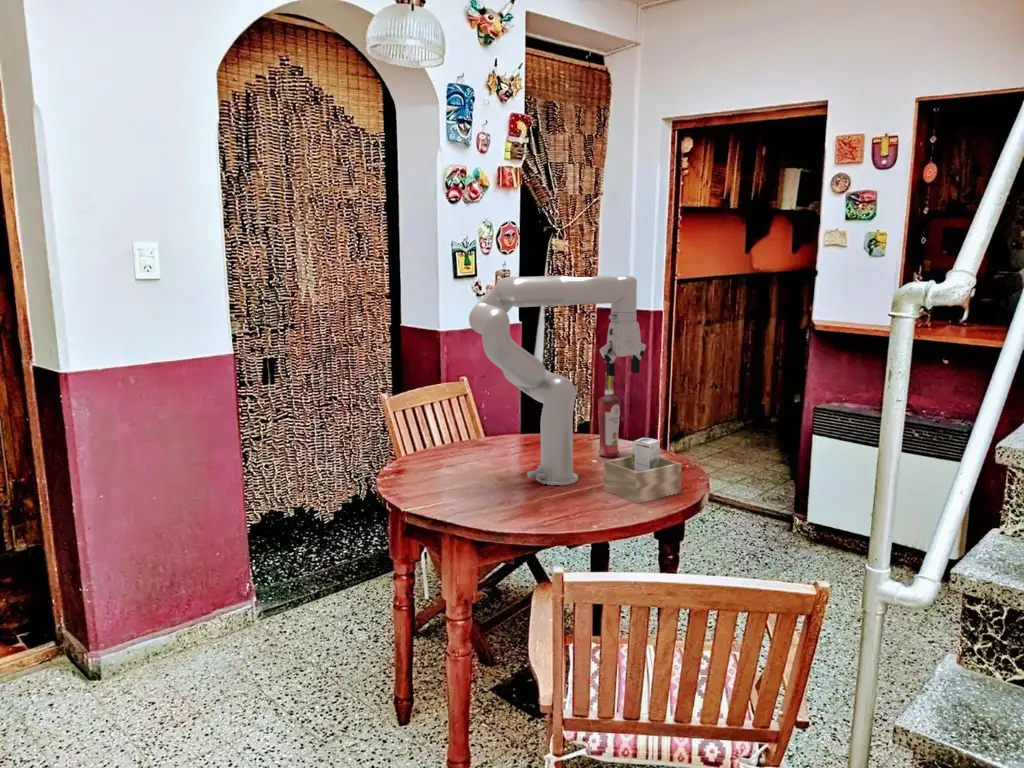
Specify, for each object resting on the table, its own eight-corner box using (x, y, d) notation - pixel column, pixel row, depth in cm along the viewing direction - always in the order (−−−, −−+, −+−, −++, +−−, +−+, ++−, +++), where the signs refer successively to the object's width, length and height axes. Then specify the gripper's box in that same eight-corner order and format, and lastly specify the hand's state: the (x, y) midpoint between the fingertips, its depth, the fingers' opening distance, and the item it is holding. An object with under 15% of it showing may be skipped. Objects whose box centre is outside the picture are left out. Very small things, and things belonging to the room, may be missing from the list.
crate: (637, 503, 200) (638, 473, 199) (604, 490, 212) (604, 461, 210) (680, 492, 209) (681, 463, 207) (646, 480, 220) (646, 452, 219)
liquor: (610, 451, 253) (610, 370, 248) (624, 456, 247) (625, 373, 242) (593, 455, 249) (593, 372, 245) (607, 459, 243) (607, 375, 239)
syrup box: (640, 485, 216) (641, 436, 214) (659, 488, 212) (660, 439, 210) (630, 490, 212) (631, 440, 209) (649, 494, 208) (650, 443, 206)
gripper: (609, 320, 215) (608, 378, 218) (653, 316, 224) (652, 373, 227) (593, 318, 221) (592, 375, 224) (636, 315, 230) (636, 370, 233)
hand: (623, 374), depth 226 cm, fingers open, 9 cm apart
